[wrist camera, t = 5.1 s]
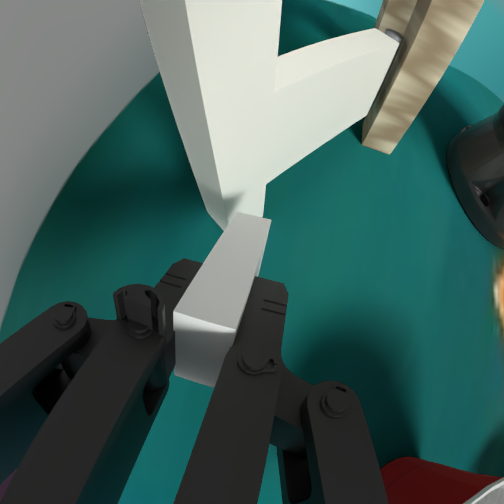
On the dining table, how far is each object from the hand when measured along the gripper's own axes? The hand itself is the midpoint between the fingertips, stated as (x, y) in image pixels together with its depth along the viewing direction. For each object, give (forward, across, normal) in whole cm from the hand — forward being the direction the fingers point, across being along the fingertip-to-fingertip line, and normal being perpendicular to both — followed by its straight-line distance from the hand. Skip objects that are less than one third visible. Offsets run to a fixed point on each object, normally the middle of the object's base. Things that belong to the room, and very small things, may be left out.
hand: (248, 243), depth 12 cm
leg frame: (+12, +2, +2) cm, 13 cm away
